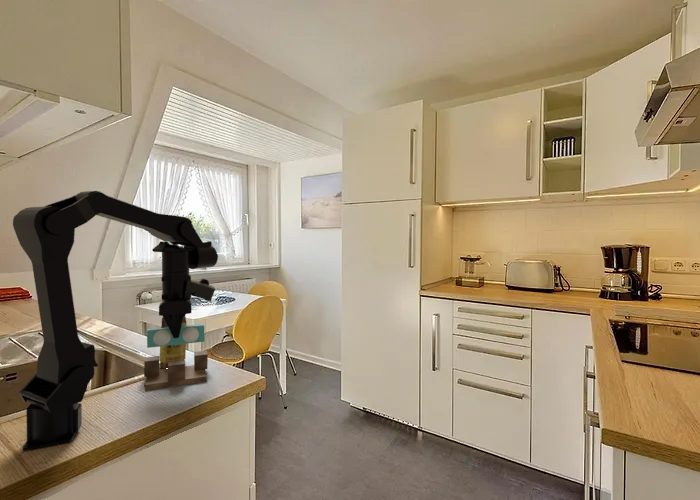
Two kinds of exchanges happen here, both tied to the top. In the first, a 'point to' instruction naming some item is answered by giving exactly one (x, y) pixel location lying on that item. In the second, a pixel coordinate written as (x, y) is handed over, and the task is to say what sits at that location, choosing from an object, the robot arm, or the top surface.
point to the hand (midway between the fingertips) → (176, 337)
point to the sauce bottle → (172, 349)
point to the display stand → (175, 372)
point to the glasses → (165, 338)
